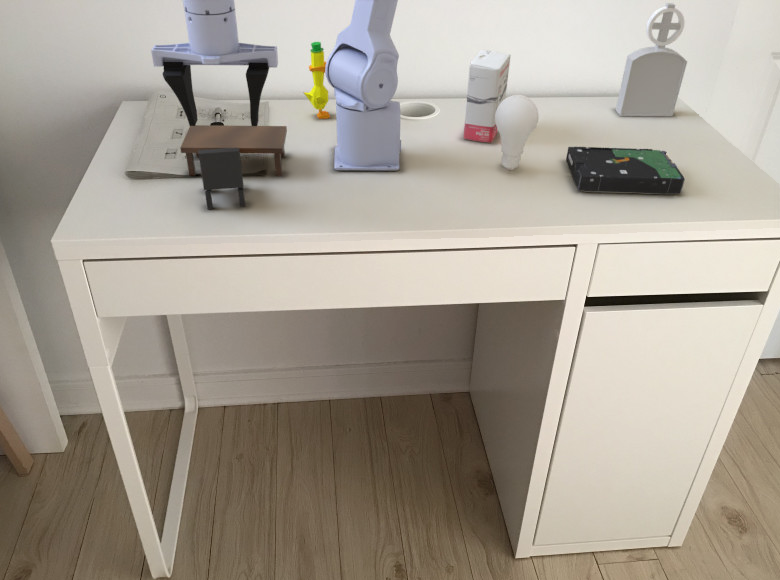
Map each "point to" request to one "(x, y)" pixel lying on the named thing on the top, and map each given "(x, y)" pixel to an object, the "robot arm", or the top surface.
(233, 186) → the chair
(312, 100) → the toy figure
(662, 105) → the gravestone
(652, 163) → the disk drive
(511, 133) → the lightbulb
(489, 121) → the ink box
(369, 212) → the top surface
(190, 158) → the brown toy table
